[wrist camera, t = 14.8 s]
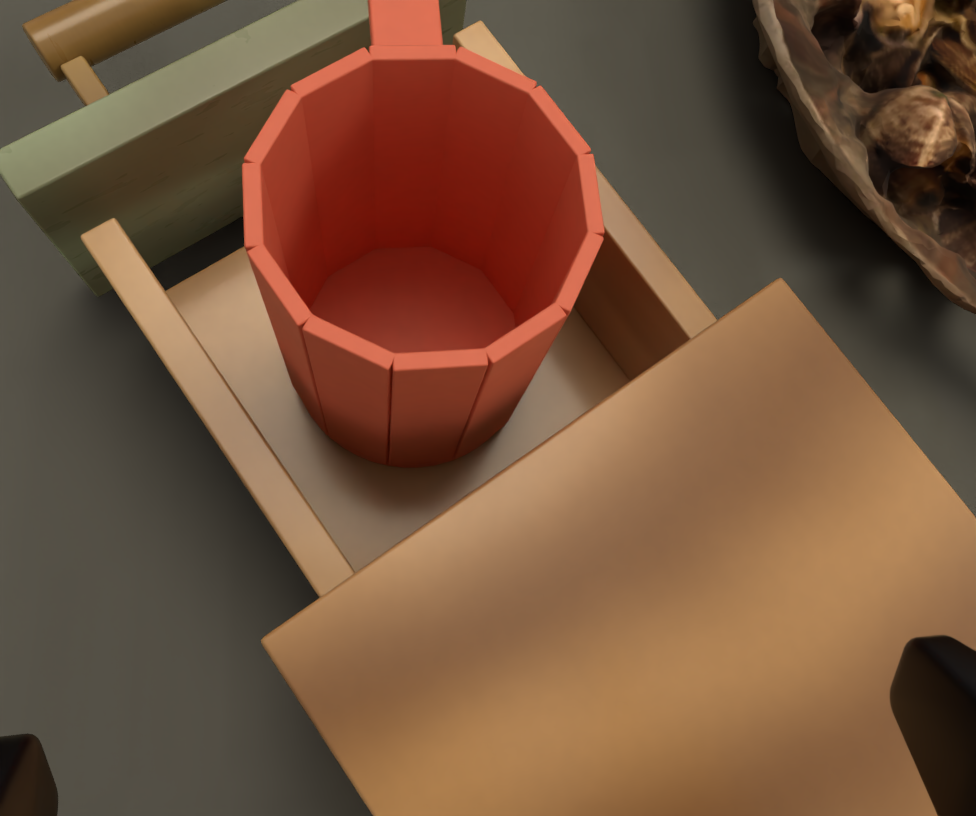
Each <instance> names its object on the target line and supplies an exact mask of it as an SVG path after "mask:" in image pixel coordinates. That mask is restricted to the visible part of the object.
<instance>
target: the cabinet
mask: <svg viewBox="0 0 976 816" xmlns="http://www.w3.org/2000/svg"><path fill="white" fill-rule="evenodd" d="M932 635H947V636H950V637H953V638H955V639H956V640H958V641H960V642H962V643H963V644H965V645H967V646H968V647H970V648H972V649H973V650H975V651H976V517H975V516H974V515H973V513H972V512H971V511H970V510H969V509H968V507H967V506H966V505H965V504H964V502H963V501H962V500H961V499H960V497H959V496H958V495H957V494H956V492H955V491H954V490H953V489H952V488H951V486H950V485H949V484H948V483H947V481H946V480H945V479H944V478H943V476H942V475H941V474H940V473H939V471H938V470H937V469H936V468H935V467H934V465H933V464H932V463H931V462H930V460H929V459H928V458H927V457H926V455H925V454H924V453H923V452H922V450H921V449H920V448H919V447H918V446H917V444H916V443H915V442H914V441H913V439H912V438H911V437H910V436H909V434H908V433H907V432H906V431H905V429H904V428H903V427H902V426H901V424H900V423H899V422H898V421H897V420H896V418H895V417H894V416H893V415H892V413H891V412H890V411H889V410H888V408H887V407H886V406H885V405H884V403H883V402H882V401H881V400H880V399H879V397H878V396H877V395H876V394H875V392H874V391H873V390H872V389H871V387H870V386H869V385H868V384H867V382H866V381H865V380H864V379H863V378H862V376H861V375H860V374H859V373H858V371H857V370H856V369H855V368H854V366H853V365H852V364H851V363H850V361H849V360H848V359H847V358H846V357H845V355H844V354H843V353H842V352H841V350H840V349H839V348H838V347H837V345H836V344H835V343H834V342H833V340H832V339H831V338H830V337H829V336H828V334H827V333H826V332H825V331H824V329H823V328H822V327H821V326H820V324H819V323H818V322H817V321H816V319H815V318H814V317H813V316H812V315H811V313H810V312H809V311H808V310H807V308H806V307H805V306H804V305H803V303H802V302H801V301H800V300H799V298H798V297H797V296H796V295H795V294H794V292H793V291H792V290H791V289H790V287H789V286H788V285H787V284H786V282H785V281H784V280H783V279H782V278H778V279H776V280H774V281H773V282H772V283H770V284H769V285H767V286H766V287H764V288H763V289H762V290H760V291H759V292H757V293H756V294H754V295H753V296H751V297H750V298H749V299H747V300H746V301H744V302H743V303H741V304H740V305H739V306H737V307H736V308H734V309H733V310H731V311H730V312H729V313H727V314H726V315H724V316H723V317H721V318H720V319H718V320H717V321H716V322H714V323H713V324H711V325H710V326H708V327H707V328H706V329H704V330H703V331H701V332H700V333H698V334H697V335H696V336H694V337H693V338H691V339H690V340H688V341H687V342H686V343H684V344H683V345H681V346H680V347H678V348H677V349H675V350H674V351H673V352H671V353H670V354H668V355H667V356H665V357H664V358H663V359H661V360H660V361H658V362H657V363H655V364H654V365H653V366H651V367H650V368H648V369H647V370H645V371H644V372H642V373H641V374H640V375H638V376H637V377H635V378H634V379H632V380H631V381H630V382H628V383H627V384H625V385H624V386H622V387H621V388H620V389H618V390H617V391H615V392H614V393H612V394H611V395H610V396H608V397H607V398H605V399H604V400H602V401H601V402H599V403H598V404H597V405H595V406H594V407H592V408H591V409H589V410H588V411H587V412H585V413H584V414H582V415H581V416H579V417H578V418H577V419H575V420H574V421H572V422H571V423H569V424H568V425H566V426H565V427H564V428H562V429H561V430H559V431H558V432H556V433H555V434H554V435H552V436H551V437H549V438H548V439H546V440H545V441H544V442H542V443H541V444H539V445H538V446H536V447H535V448H534V449H532V450H531V451H529V452H528V453H526V454H525V455H523V456H522V457H521V458H519V459H518V460H516V461H515V462H513V463H512V464H511V465H509V466H508V467H506V468H505V469H503V470H502V471H501V472H499V473H498V474H496V475H495V476H493V477H492V478H490V479H489V480H488V481H486V482H485V483H483V484H482V485H480V486H479V487H478V488H476V489H475V490H473V491H472V492H470V493H469V494H468V495H466V496H465V497H463V498H462V499H460V500H459V501H457V502H456V503H455V504H453V505H452V506H450V507H449V508H447V509H446V510H445V511H443V512H442V513H440V514H439V515H437V516H436V517H435V518H433V519H432V520H430V521H429V522H427V523H426V524H425V525H423V526H422V527H420V528H419V529H417V530H416V531H414V532H413V533H412V534H410V535H409V536H407V537H406V538H404V539H403V540H402V541H400V542H399V543H397V544H396V545H394V546H393V547H392V548H390V549H389V550H387V551H386V552H384V553H383V554H381V555H380V556H379V557H377V558H376V559H374V560H373V561H371V562H370V563H369V564H367V565H366V566H364V567H363V568H361V569H360V570H359V571H357V572H356V573H354V574H353V575H351V576H350V577H349V578H347V579H346V580H344V581H343V582H341V583H340V584H338V585H337V586H336V587H334V588H333V589H331V590H330V591H328V592H327V593H326V594H324V595H323V596H321V597H320V598H318V599H317V600H316V601H314V602H313V603H311V604H310V605H308V606H307V607H305V608H304V609H303V610H301V611H300V612H298V613H297V614H295V615H294V616H293V617H291V618H290V619H288V620H287V621H285V622H284V623H283V624H281V625H280V626H278V627H277V628H275V629H274V630H273V631H271V632H270V633H268V634H267V635H265V636H264V637H263V638H262V640H261V644H262V646H263V647H264V649H265V650H266V652H267V653H268V655H269V656H270V658H271V659H272V661H273V663H274V664H275V666H276V667H277V669H278V670H279V672H280V673H281V675H282V676H283V678H284V680H285V681H286V683H287V684H288V686H289V687H290V689H291V690H292V692H293V693H294V695H295V696H296V698H297V700H298V701H299V703H300V704H301V706H302V707H303V709H304V710H305V712H306V713H307V715H308V717H309V718H310V720H311V721H312V723H313V724H314V726H315V727H316V729H317V730H318V732H319V733H320V735H321V737H322V738H323V740H324V741H325V743H326V744H327V746H328V747H329V749H330V750H331V752H332V754H333V755H334V757H335V758H336V760H337V761H338V763H339V764H340V766H341V767H342V769H343V770H344V772H345V774H346V775H347V777H348V778H349V780H350V781H351V783H352V784H353V786H354V787H355V789H356V791H357V792H358V794H359V795H360V797H361V798H362V800H363V801H364V803H365V804H366V806H367V807H368V809H369V811H370V812H371V814H372V815H373V816H938V815H937V813H936V811H935V808H934V806H933V804H932V802H931V799H930V797H929V795H928V792H927V790H926V788H925V786H924V783H923V781H922V779H921V776H920V774H919V772H918V770H917V767H916V765H915V763H914V760H913V758H912V756H911V754H910V751H909V749H908V747H907V744H906V742H905V740H904V738H903V735H902V733H901V731H900V728H899V726H898V724H897V722H896V719H895V717H894V715H893V712H892V709H891V705H890V698H889V695H890V687H891V684H892V681H893V678H894V675H895V672H896V669H897V666H898V663H899V661H900V658H901V655H902V652H903V649H904V647H905V644H906V643H907V642H908V641H909V640H910V639H912V638H915V637H923V636H932Z"/></svg>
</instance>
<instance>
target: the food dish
mask: <svg viewBox="0 0 976 816" xmlns="http://www.w3.org/2000/svg"><path fill="white" fill-rule="evenodd" d="M752 1H753V6H754V9H755V12H756V15H757V16H756V18H755V20H754V21H753V25H754V26H755V28H756V30H757V31H758V33H759V40H760V50H759V60H760V61H761V62H762V64H763V65H764V67H767V68H769V69H771V70H773V71H774V72H775V73H776V75H777V76H778V77H779V78H778V85H777V89H778V90H779V91H780V92H781V93H782V94H783V95H784V96H785V97H786V98H787V99H788V101H789V102H790V104H791V107H792V111H793V115H794V120H795V126H796V131H797V136H798V140H799V143H800V147H801V149H802V151H803V152H804V154H805V155H806V156H807V158H808V159H809V161H810V162H811V163H812V164H813V165H815V166H816V167H817V168H818V169H819V170H820V171H821V172H822V173H823V174H824V175H825V176H826V177H827V178H828V179H829V180H830V181H831V182H832V183H833V184H834V185H835V186H836V187H837V188H838V189H839V190H840V191H841V192H842V193H843V194H844V195H845V196H846V197H847V198H848V199H849V200H850V201H851V202H852V203H853V204H854V205H855V206H856V207H857V208H858V209H859V210H860V211H861V212H862V213H863V214H864V215H865V216H866V217H868V218H869V219H870V220H871V221H873V222H874V223H875V224H876V225H878V226H879V227H880V228H881V229H882V230H883V231H884V232H885V233H886V234H887V235H888V236H889V237H890V238H891V239H892V240H893V241H894V242H895V243H896V244H897V245H898V246H899V247H900V248H901V249H902V250H903V251H904V252H906V253H907V254H908V255H909V256H910V257H911V258H912V259H913V260H915V261H916V262H917V264H918V265H919V267H920V268H921V269H922V271H923V272H924V273H925V275H926V276H927V277H928V279H929V280H930V281H931V282H932V284H933V285H934V286H935V287H936V288H937V289H938V290H939V291H940V292H941V293H942V294H943V295H944V296H945V297H947V298H948V299H949V300H950V301H952V302H953V303H955V304H957V305H958V306H960V307H961V308H963V309H965V310H967V311H970V312H972V313H974V314H976V0H752Z"/></svg>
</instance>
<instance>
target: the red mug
mask: <svg viewBox="0 0 976 816" xmlns="http://www.w3.org/2000/svg"><path fill="white" fill-rule="evenodd" d="M368 13H369V26H370V39H371V46H370V47H369V52H368V51H367V49H366V48H365V47H363V48H361V49H359V50H357V51H355V52H354V53H352V54H350V55H348V56H346V57H344V58H342V59H340V60H338V61H336V62H334V63H332V64H330V65H329V66H327V67H325V68H323V69H321V70H319V71H317V72H315V73H313V74H311V75H309V76H307V77H306V78H304V79H302V80H300V81H298V82H296V83H294V84H292V85H291V86H290V87H291V91H290V90H288V89H287V90H286V91H285V92H284V94H283V95H282V97H281V99H280V100H279V102H278V104H277V105H276V107H275V108H274V110H273V112H272V113H271V115H270V116H269V118H268V120H267V121H266V123H265V124H264V126H263V128H262V129H261V131H260V133H259V134H258V136H257V137H256V139H255V141H254V142H253V144H252V145H251V147H250V149H249V150H248V152H247V153H246V155H245V157H244V162H245V163H243V164H242V188H243V219H244V246H245V249H246V252H247V255H248V258H249V261H250V264H251V267H252V270H253V273H254V276H255V279H256V281H257V284H258V287H259V290H260V293H261V296H262V299H263V302H264V305H265V307H266V310H267V313H268V316H269V319H270V322H271V325H272V328H273V331H274V333H275V336H276V339H277V342H278V345H279V348H280V351H281V354H282V357H283V359H284V362H285V365H286V368H287V371H288V374H289V377H290V380H291V383H292V385H293V387H294V389H295V390H296V392H297V393H298V395H299V396H300V398H301V399H302V401H303V403H304V405H305V407H306V409H307V410H308V412H309V414H310V415H311V417H312V418H313V419H314V421H315V422H316V423H317V424H318V426H319V427H320V428H321V429H322V430H323V431H324V433H325V434H326V435H328V436H329V437H330V438H331V439H332V440H334V441H335V442H336V443H338V444H339V445H340V446H342V447H343V448H344V449H346V450H348V451H350V452H352V453H353V454H355V455H357V456H359V457H362V458H364V459H367V460H369V461H372V462H375V463H379V464H383V465H387V466H394V467H403V468H418V467H427V466H434V465H438V464H442V463H446V462H449V461H452V460H454V459H457V458H459V457H462V456H464V455H466V454H468V453H469V452H471V451H473V450H474V449H476V448H478V447H479V446H480V445H482V444H483V443H484V442H486V441H487V440H488V439H489V438H490V437H491V436H492V435H493V434H494V433H495V432H496V431H498V430H499V429H501V428H502V427H504V426H505V424H506V423H507V422H508V421H509V419H510V417H511V415H512V414H513V412H514V410H515V408H516V407H517V405H518V403H519V401H520V400H521V398H522V396H523V394H524V393H525V391H526V389H527V387H528V386H529V384H530V382H531V380H532V379H533V377H534V375H535V373H536V372H537V370H538V368H539V366H540V365H541V363H542V361H543V359H544V358H545V356H546V354H547V352H548V351H549V349H550V347H551V345H552V344H553V342H554V340H555V338H556V337H557V335H558V333H559V331H560V330H561V328H562V326H563V324H564V323H565V321H566V319H567V317H568V315H569V314H570V312H571V310H572V308H573V306H574V303H575V301H576V299H577V297H578V295H579V293H580V290H581V288H582V286H583V284H584V282H585V279H586V277H587V275H588V273H589V271H590V268H591V266H592V264H593V262H594V260H595V258H596V255H597V253H598V251H599V249H600V247H601V244H602V242H603V240H604V238H603V235H604V233H605V231H604V224H603V217H602V210H601V203H600V196H599V189H598V182H597V175H596V168H595V161H594V155H593V154H590V152H591V148H590V147H589V146H588V145H587V143H586V142H585V141H584V139H583V138H582V137H581V136H580V134H579V133H578V132H577V131H576V129H575V128H574V127H573V125H572V124H571V123H570V122H569V120H568V119H567V118H566V117H565V115H564V114H563V113H562V111H561V110H560V109H559V108H558V106H557V105H556V104H555V103H554V101H553V100H552V99H551V97H550V96H549V95H548V94H547V92H546V91H545V90H544V89H543V87H542V86H538V87H536V84H537V83H536V81H534V80H532V79H530V78H527V77H525V76H523V75H521V74H519V73H517V72H515V71H512V70H510V69H508V68H506V67H504V66H502V65H500V64H497V63H495V62H493V61H491V60H489V59H487V58H485V57H483V56H480V55H478V54H476V53H474V52H472V51H470V50H468V49H465V48H463V47H459V48H458V50H457V52H456V47H455V45H443V39H442V29H441V19H440V9H439V0H368Z"/></svg>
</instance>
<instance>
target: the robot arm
mask: <svg viewBox="0 0 976 816" xmlns="http://www.w3.org/2000/svg"><path fill="white" fill-rule="evenodd" d="M889 698H890V705H891V709H892V712H893V715H894V717H895V719H896V722H897V724H898V726H899V728H900V731H901V733H902V735H903V738H904V740H905V742H906V744H907V747H908V749H909V751H910V754H911V756H912V758H913V760H914V763H915V765H916V767H917V770H918V772H919V774H920V776H921V779H922V781H923V783H924V786H925V788H926V790H927V792H928V795H929V797H930V799H931V802H932V804H933V806H934V808H935V811H936V813H937V815H938V816H976V651H975V650H973V649H972V648H970V647H968V646H967V645H965V644H963V643H962V642H960V641H958V640H956V639H955V638H953V637H950V636H947V635H932V636H923V637H915V638H912V639H910V640H909V641H908V642H907V643H906V644H905V647H904V649H903V652H902V655H901V658H900V661H899V663H898V666H897V669H896V672H895V675H894V678H893V681H892V684H891V687H890V695H889ZM57 812H58V793H57V788H56V784H55V781H54V778H53V776H52V773H51V770H50V767H49V765H48V762H47V759H46V756H45V753H44V751H43V748H42V745H41V743H40V741H39V739H38V738H37V737H36V736H35V735H33V734H20V735H11V736H2V737H0V816H57Z"/></svg>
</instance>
